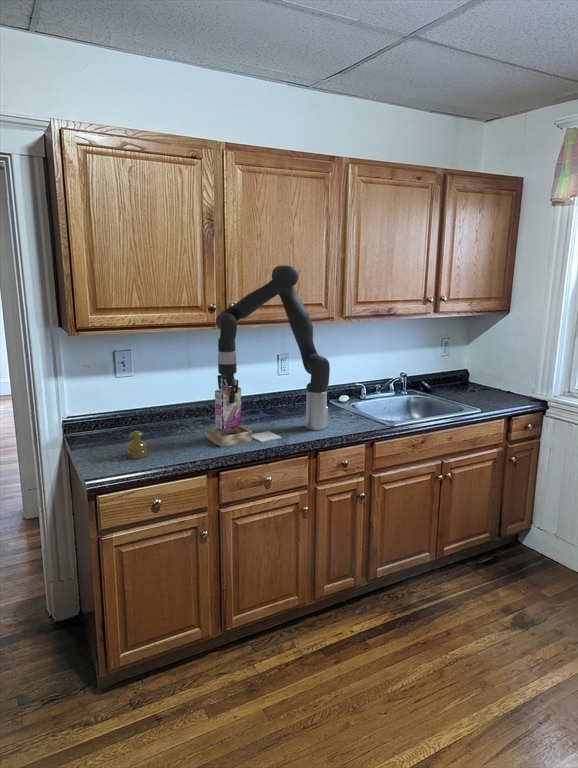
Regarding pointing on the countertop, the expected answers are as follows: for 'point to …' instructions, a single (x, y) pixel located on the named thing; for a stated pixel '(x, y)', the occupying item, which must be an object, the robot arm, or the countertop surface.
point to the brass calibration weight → (136, 446)
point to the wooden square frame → (239, 437)
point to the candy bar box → (227, 409)
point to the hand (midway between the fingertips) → (228, 401)
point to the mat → (265, 436)
